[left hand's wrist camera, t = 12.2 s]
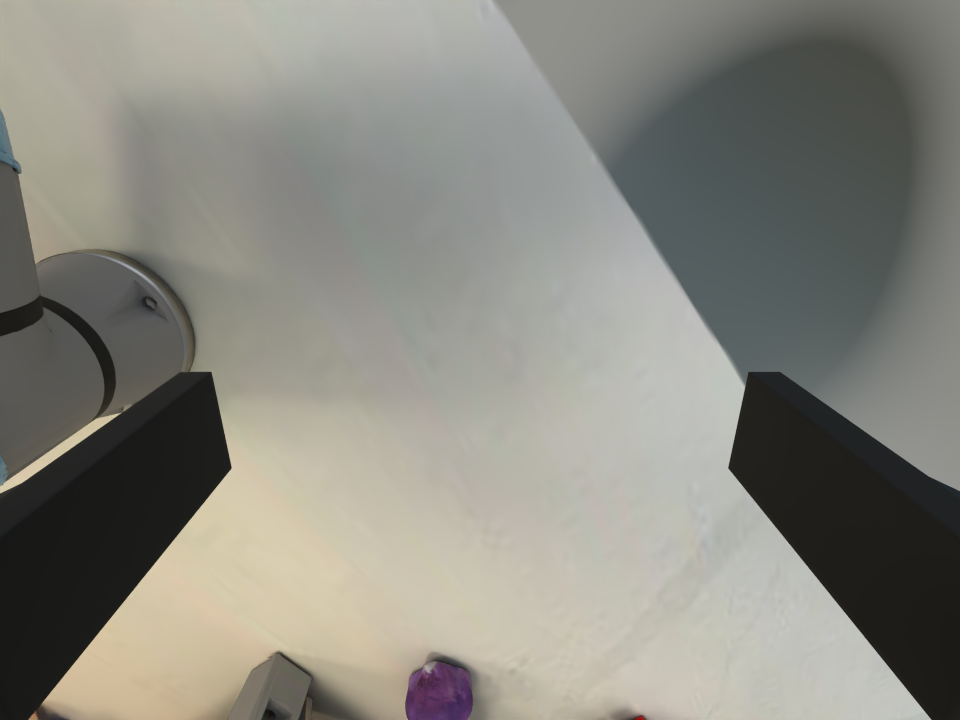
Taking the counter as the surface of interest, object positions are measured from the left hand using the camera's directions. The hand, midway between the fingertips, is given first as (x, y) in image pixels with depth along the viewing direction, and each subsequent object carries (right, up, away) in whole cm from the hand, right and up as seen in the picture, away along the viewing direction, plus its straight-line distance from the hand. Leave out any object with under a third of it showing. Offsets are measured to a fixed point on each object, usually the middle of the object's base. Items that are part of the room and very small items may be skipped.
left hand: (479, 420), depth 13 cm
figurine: (-4, -41, +53) cm, 67 cm away
